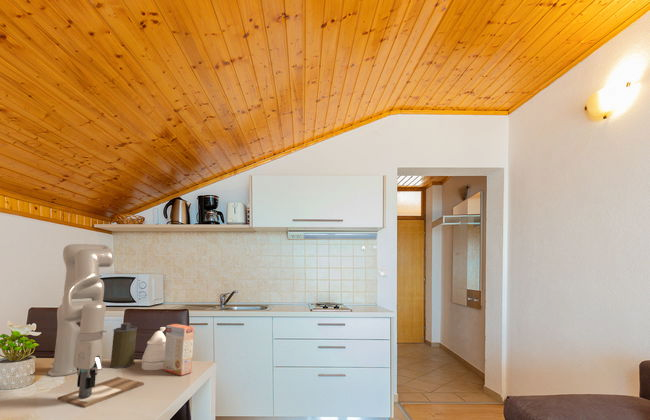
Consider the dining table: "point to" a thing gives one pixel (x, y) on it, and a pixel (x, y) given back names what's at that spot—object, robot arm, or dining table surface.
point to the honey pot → (154, 351)
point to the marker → (82, 390)
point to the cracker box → (178, 349)
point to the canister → (123, 346)
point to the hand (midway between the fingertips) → (85, 386)
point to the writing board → (101, 392)
